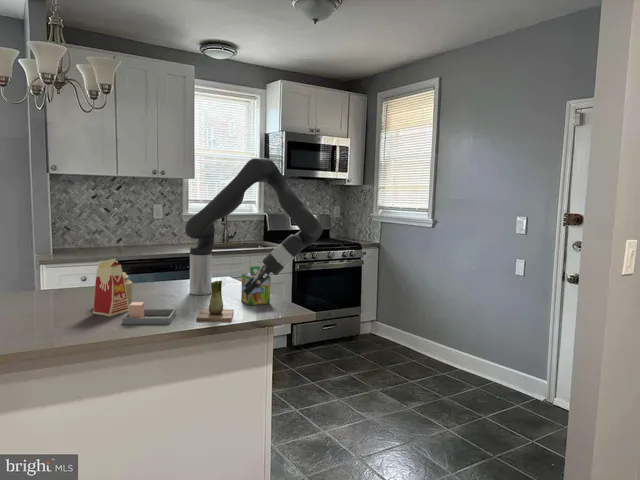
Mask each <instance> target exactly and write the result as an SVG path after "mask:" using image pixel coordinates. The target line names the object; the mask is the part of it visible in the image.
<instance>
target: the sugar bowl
mask: <svg viewBox="0 0 640 480" xmlns="http://www.w3.org/2000/svg"><path fill="white" fill-rule="evenodd" d="M122 272H123V277H124V282H125V287H126V293H127V298H128V305H130V304H131V303H132V302H133V281H132V280H130V279H128V278H129V275H128V274H127V272H124V271H122Z"/></svg>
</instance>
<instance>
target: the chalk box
mask: <svg viewBox="0 0 640 480" xmlns="http://www.w3.org/2000/svg"><path fill="white" fill-rule="evenodd" d="M249 268H250V270H249V271H250V273H249V272H248V273H242V274H241V297H240V298H241V302H243V303H244V304H247V305H249V306H257V305H259V306H260V305H270V302H271V278H272V277H271V276H270V275H269V278H267V279H266V280H265V281H264V282H263V283H262V284H261V285H260V286H259V287H258V288H255V289H254V290H253V291H252V292H251V293H250V294H249V295H247V294H246V293H245V292H244V290H245V289H246V287H245V284H246V283H247V282H248V281H249V280H251V279H252V277H253V275H254V274H255V273H256V272H255V270H257V271H258V270H259V269H260V268H261V266H260V265H257V266H250V267H249ZM256 283H257V284H258V282H256Z"/></svg>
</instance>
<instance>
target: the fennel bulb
mask: <svg viewBox="0 0 640 480" xmlns="http://www.w3.org/2000/svg"><path fill="white" fill-rule="evenodd" d="M222 286H223V281H222V280H215V281H211V293H210V294H211V295H210V300H209V306H208V309H209V312H210V313H211V314H219V313H222V311H223V309H224V302H223V296H222V295H223V294H222Z"/></svg>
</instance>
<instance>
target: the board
mask: <svg viewBox="0 0 640 480" xmlns="http://www.w3.org/2000/svg"><path fill="white" fill-rule="evenodd" d="M233 316H234V309H229V308H228V309H227V308H226V309H225V308H223V311H222V313H219V314H211V313H210V312H209V308H208V309H205V308H204V309H203V308H202V309H200V310H199V312H198V313H197V316H196V319H195V322H196V323H197V322H202V323H203V322H207V323H208V322H216V323H217V322H220V323H221V322H227V323H228V322H229V323H231V322H233V321H232V320H233Z"/></svg>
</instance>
